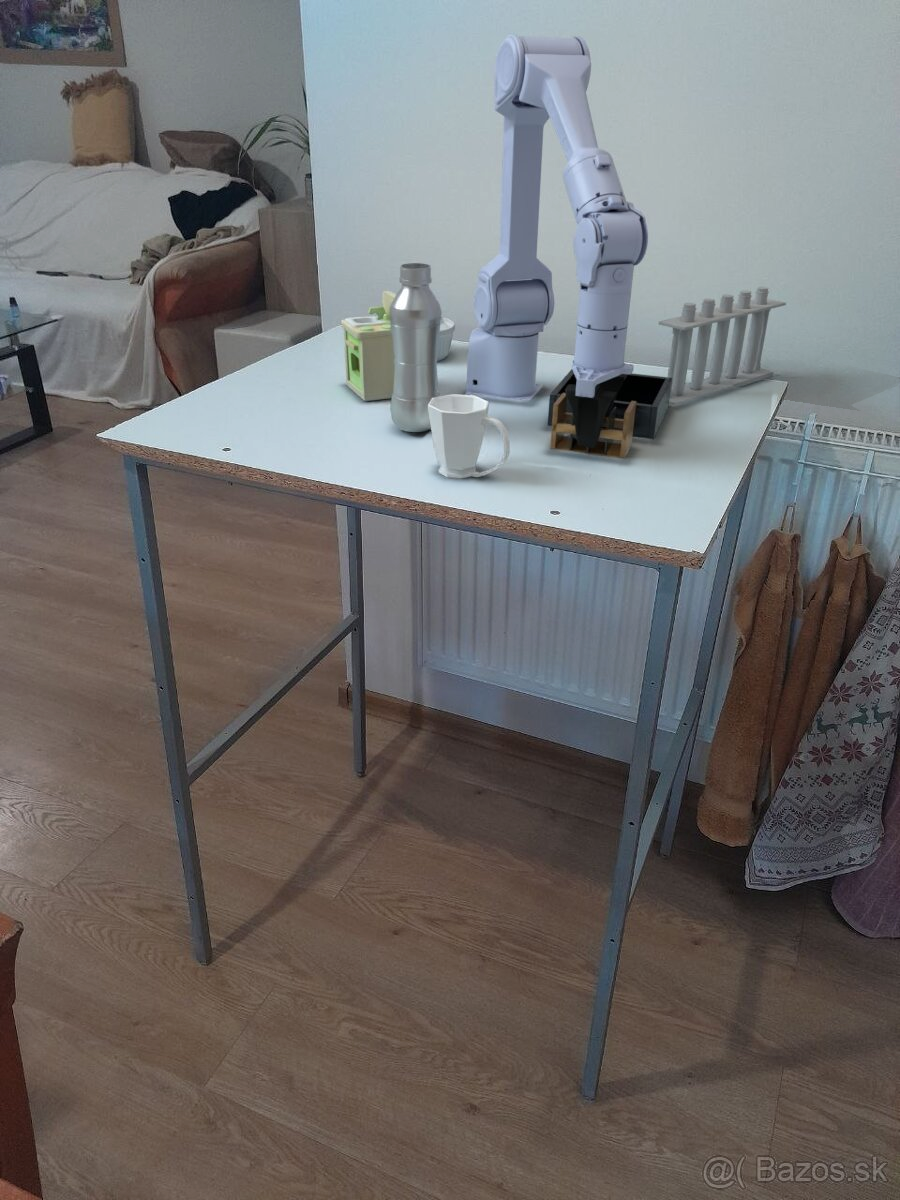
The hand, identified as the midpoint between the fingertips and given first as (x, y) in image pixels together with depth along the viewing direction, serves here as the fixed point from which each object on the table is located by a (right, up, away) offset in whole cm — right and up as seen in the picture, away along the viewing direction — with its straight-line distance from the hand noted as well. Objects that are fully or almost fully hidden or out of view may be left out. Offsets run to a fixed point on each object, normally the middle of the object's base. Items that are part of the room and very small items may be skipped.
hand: (591, 438), depth 114 cm
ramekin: (-22, +20, +37) cm, 47 cm away
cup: (-15, -5, -6) cm, 17 cm away
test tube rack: (+22, +11, +24) cm, 34 cm away
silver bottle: (-21, +2, +7) cm, 23 cm away
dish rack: (0, -1, +1) cm, 2 cm away
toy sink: (-28, +10, +20) cm, 36 cm away
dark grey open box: (+4, +4, +11) cm, 13 cm away
